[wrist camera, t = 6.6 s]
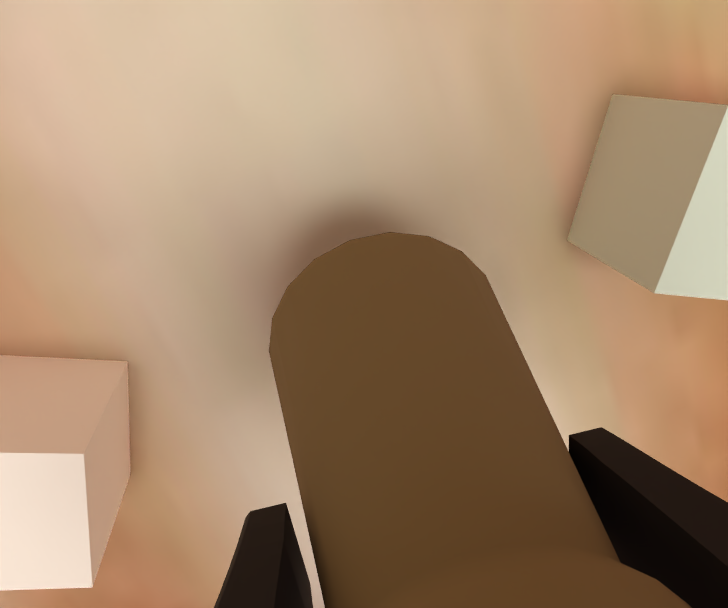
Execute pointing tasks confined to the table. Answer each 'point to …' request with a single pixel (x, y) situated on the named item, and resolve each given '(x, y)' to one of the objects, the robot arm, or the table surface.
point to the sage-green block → (659, 196)
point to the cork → (432, 443)
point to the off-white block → (60, 467)
